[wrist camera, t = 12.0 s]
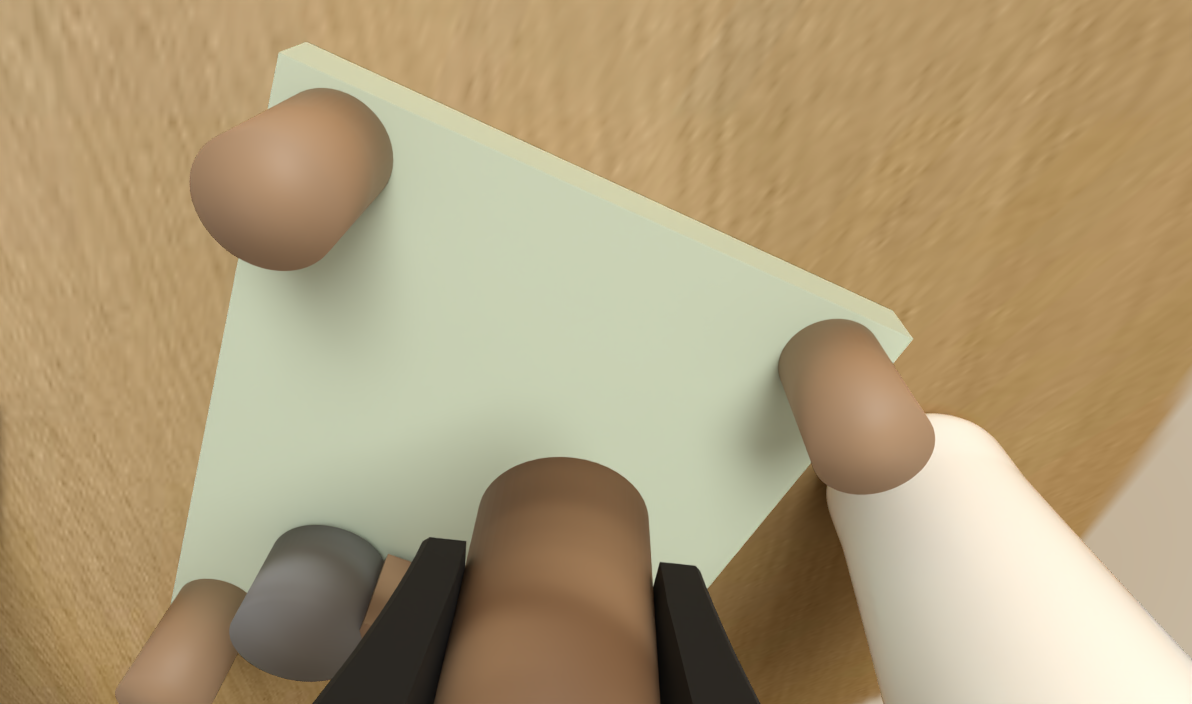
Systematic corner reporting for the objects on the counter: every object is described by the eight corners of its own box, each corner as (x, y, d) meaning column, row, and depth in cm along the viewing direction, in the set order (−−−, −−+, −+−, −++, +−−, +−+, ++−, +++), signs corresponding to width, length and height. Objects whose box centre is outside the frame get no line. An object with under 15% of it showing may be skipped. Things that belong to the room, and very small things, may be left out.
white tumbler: (956, 560, 24) (1358, 1298, 11) (768, 530, 23) (962, 1272, 10) (1065, 405, 20) (1845, 1228, 7) (847, 364, 20) (1286, 1180, 7)
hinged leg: (260, 581, 22) (217, 659, 20) (286, 509, 21) (243, 585, 18) (622, 696, 25) (623, 776, 23) (671, 642, 23) (678, 723, 21)
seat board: (188, 592, 25) (103, 725, 21) (306, 41, 15) (190, 85, 11) (596, 708, 29) (593, 843, 24) (910, 319, 19) (997, 433, 14)
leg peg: (496, 585, 14) (419, 1024, 8) (460, 464, 12) (334, 913, 7) (655, 574, 14) (685, 1020, 8) (640, 449, 12) (666, 903, 6)
